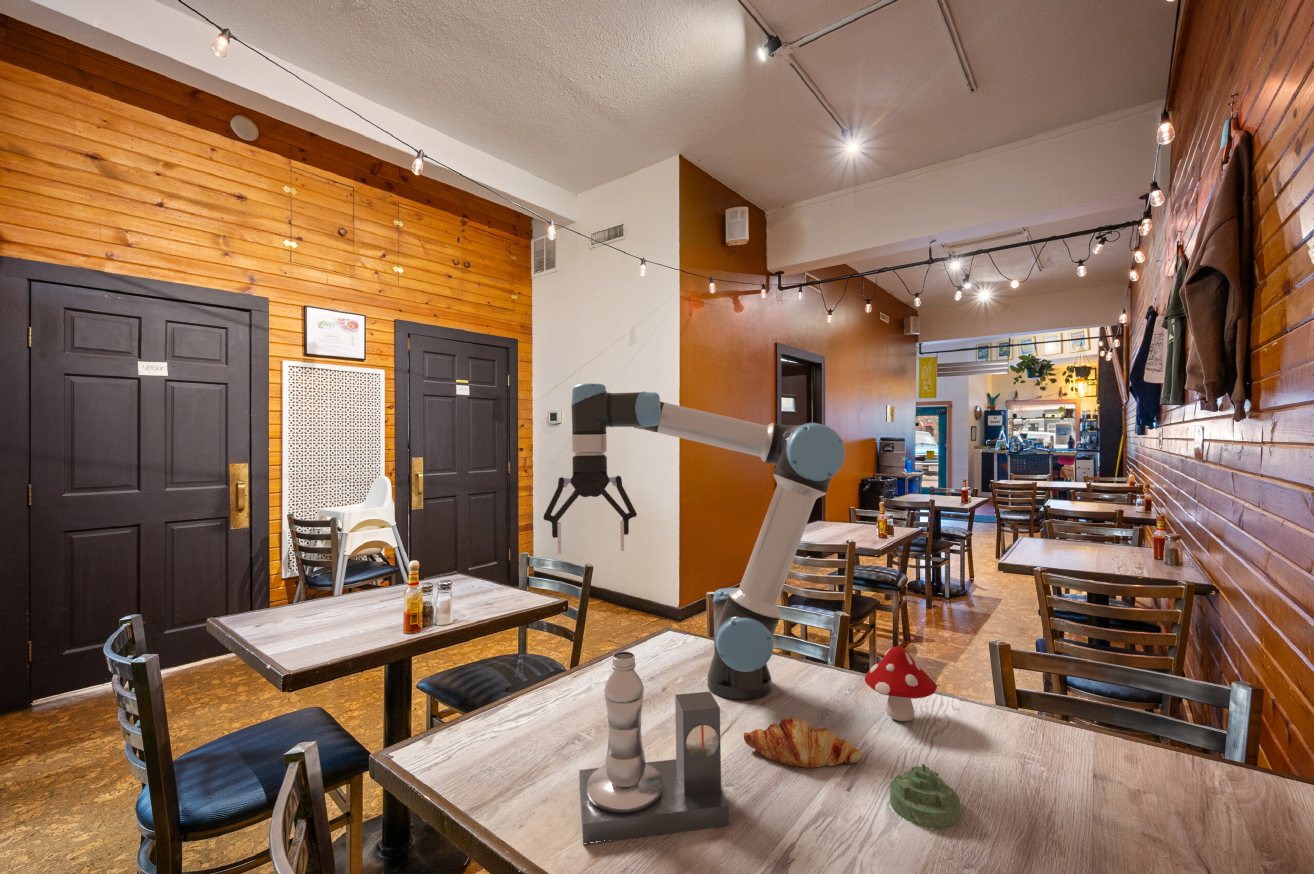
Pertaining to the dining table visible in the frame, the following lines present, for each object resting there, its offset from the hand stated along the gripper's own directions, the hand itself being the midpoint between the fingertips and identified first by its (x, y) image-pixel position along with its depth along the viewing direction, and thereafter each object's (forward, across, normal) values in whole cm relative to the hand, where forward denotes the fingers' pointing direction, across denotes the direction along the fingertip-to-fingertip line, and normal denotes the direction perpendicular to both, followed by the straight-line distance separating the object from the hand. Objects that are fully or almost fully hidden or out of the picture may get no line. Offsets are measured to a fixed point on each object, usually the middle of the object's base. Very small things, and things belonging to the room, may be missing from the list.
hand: (590, 551), depth 125 cm
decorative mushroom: (+35, -63, +17) cm, 74 cm away
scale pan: (+31, -3, +35) cm, 47 cm away
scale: (+35, -7, +35) cm, 50 cm away
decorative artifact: (+35, -50, +44) cm, 75 cm away
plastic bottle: (+31, -3, +35) cm, 46 cm away
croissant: (+35, -37, +26) cm, 57 cm away
